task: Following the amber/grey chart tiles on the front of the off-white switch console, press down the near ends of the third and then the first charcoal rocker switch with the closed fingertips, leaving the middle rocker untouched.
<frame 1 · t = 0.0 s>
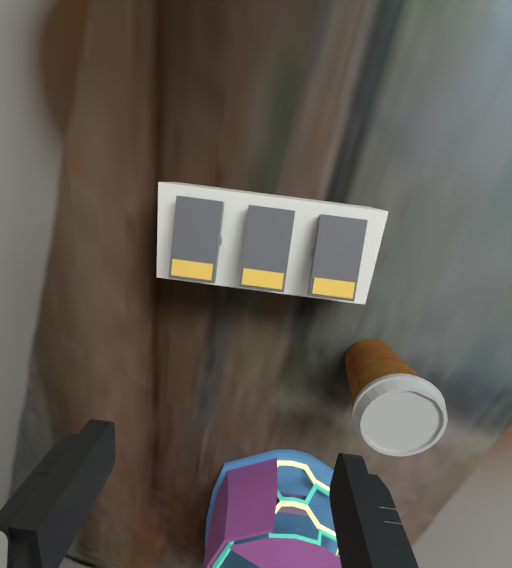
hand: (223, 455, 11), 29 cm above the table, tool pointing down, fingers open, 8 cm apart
rocker 1: (196, 240, 30), point 8 cm above the table, hinge at -12.0°
rocker 3: (336, 258, 30), point 8 cm above the table, hinge at -12.0°
rocker 2: (266, 249, 30), point 8 cm above the table, hinge at -12.0°
console: (267, 236, 38), on the table
disposable coffee cup: (367, 358, 43), on the table
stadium: (275, 523, 54), on the table
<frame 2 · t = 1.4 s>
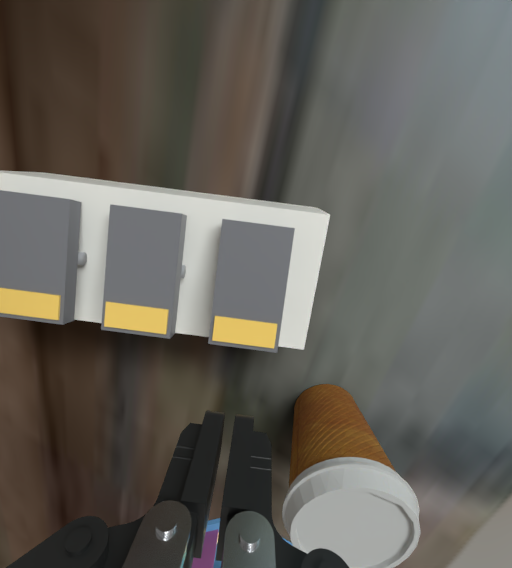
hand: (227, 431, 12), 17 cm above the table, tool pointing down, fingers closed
rocker 1: (37, 258, 20), point 8 cm above the table, hinge at -12.0°
rocker 3: (250, 286, 20), point 8 cm above the table, hinge at -12.0°
rocker 2: (143, 272, 20), point 8 cm above the table, hinge at -12.0°
console: (177, 248, 27), on the table
disposable coffee cup: (324, 407, 32), on the table
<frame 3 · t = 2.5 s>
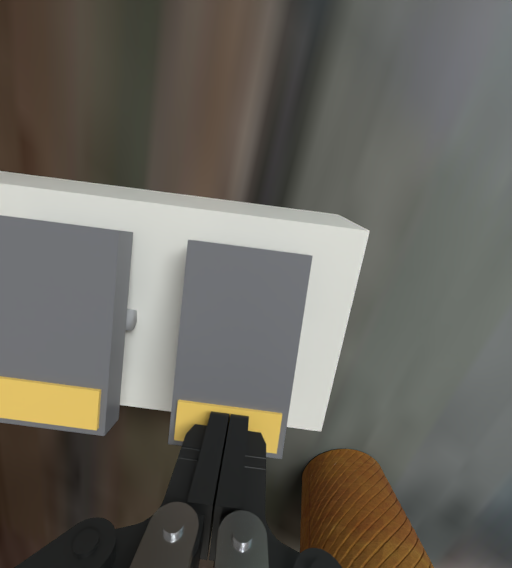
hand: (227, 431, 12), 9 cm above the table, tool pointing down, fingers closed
rocker 3: (238, 349, 12), point 8 cm above the table, hinge at -11.4°, touching gripper
rocker 2: (61, 326, 12), point 8 cm above the table, hinge at -12.0°
console: (140, 271, 19), on the table
disposable coffee cup: (341, 476, 24), on the table
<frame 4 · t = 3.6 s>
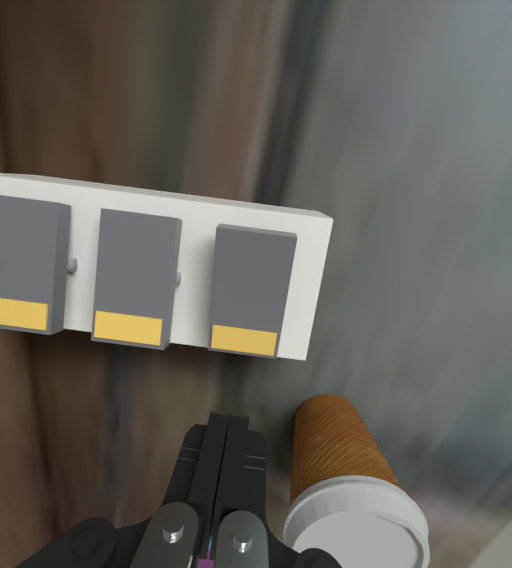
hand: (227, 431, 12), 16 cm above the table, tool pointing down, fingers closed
rocker 1: (24, 265, 19), point 8 cm above the table, hinge at -12.0°
rocker 3: (249, 294, 19), point 8 cm above the table, hinge at 3.8°
rocker 2: (136, 279, 19), point 8 cm above the table, hinge at -12.0°
console: (174, 253, 26), on the table
disposable coffee cup: (326, 418, 31), on the table
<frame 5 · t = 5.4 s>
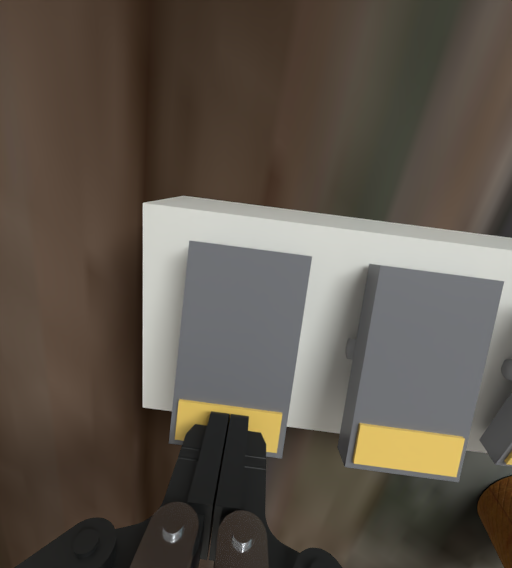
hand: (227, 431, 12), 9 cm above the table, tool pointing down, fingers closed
rocker 1: (238, 349, 12), point 8 cm above the table, hinge at -11.8°, touching gripper
rocker 2: (414, 372, 12), point 8 cm above the table, hinge at -12.0°
console: (360, 300, 19), on the table
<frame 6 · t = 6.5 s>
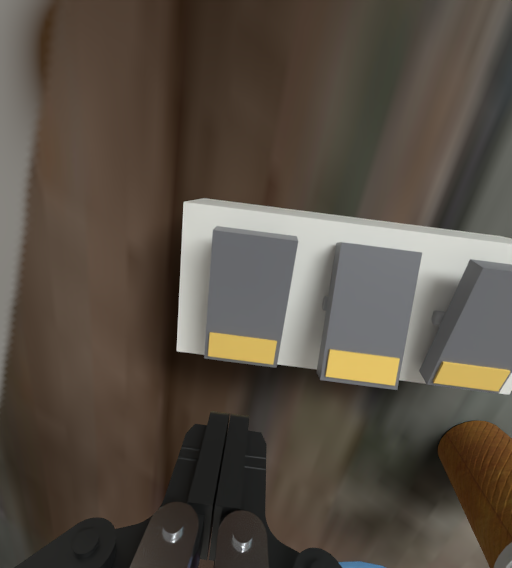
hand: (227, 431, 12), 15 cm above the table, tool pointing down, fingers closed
rocker 1: (247, 300, 18), point 8 cm above the table, hinge at 3.4°
rocker 3: (485, 331, 18), point 8 cm above the table, hinge at 8.5°
rocker 2: (366, 315, 18), point 8 cm above the table, hinge at -12.0°
console: (338, 278, 25), on the table
disposable coffee cup: (469, 444, 30), on the table
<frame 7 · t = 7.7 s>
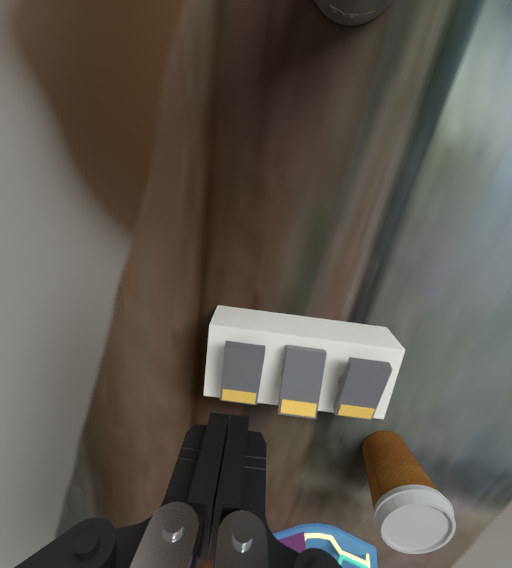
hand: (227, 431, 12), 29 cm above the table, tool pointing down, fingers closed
rocker 1: (241, 374, 36), point 8 cm above the table, hinge at 7.7°
rocker 3: (361, 390, 36), point 8 cm above the table, hinge at 8.5°
rocker 2: (301, 382, 36), point 8 cm above the table, hinge at -12.0°
console: (296, 348, 43), on the table
disposable coffee cup: (382, 445, 48), on the table
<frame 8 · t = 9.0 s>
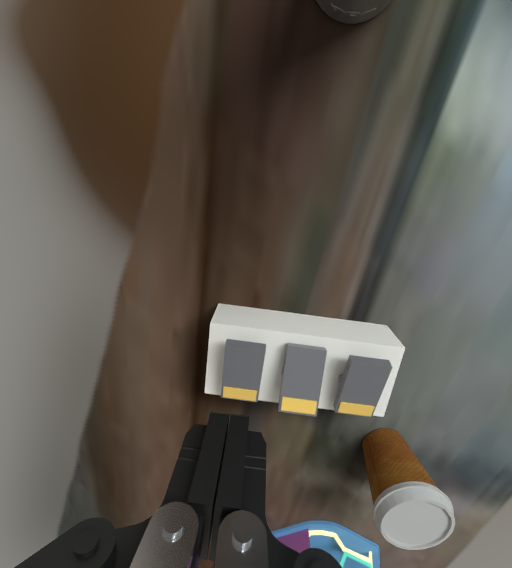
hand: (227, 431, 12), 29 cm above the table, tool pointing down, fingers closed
rocker 1: (242, 372, 36), point 8 cm above the table, hinge at 8.5°
rocker 3: (361, 387, 36), point 8 cm above the table, hinge at 8.6°
rocker 2: (301, 379, 36), point 8 cm above the table, hinge at -12.0°
console: (296, 346, 43), on the table
disposable coffee cup: (382, 443, 48), on the table
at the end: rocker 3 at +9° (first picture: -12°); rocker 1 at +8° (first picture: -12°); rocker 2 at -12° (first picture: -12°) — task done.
